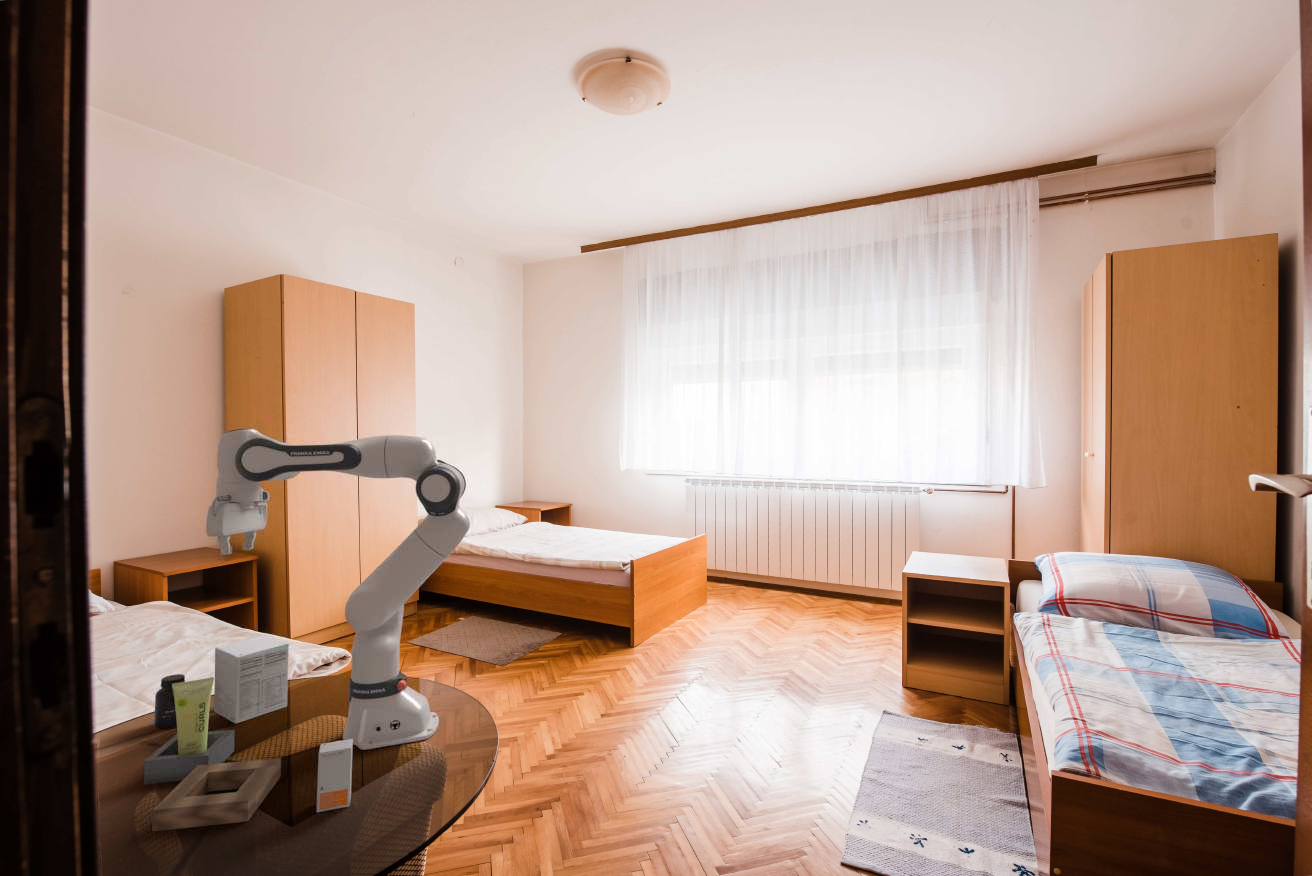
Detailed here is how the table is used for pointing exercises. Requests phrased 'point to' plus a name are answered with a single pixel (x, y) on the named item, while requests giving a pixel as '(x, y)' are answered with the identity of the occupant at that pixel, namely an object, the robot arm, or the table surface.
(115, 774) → the table surface
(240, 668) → the supplement box
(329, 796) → the skincare box
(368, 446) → the robot arm
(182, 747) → the tube
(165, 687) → the supplement bottle
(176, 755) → the graphite collar stand
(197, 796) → the walnut socket block
